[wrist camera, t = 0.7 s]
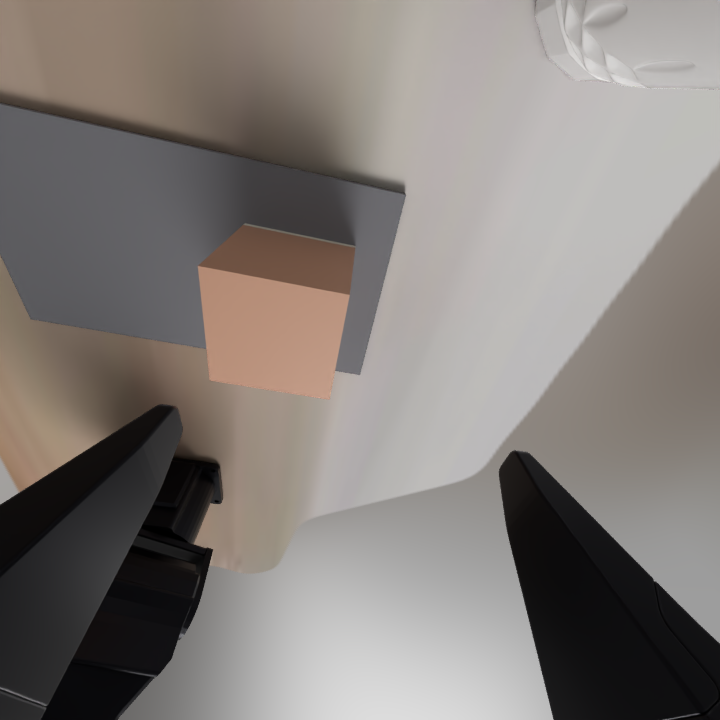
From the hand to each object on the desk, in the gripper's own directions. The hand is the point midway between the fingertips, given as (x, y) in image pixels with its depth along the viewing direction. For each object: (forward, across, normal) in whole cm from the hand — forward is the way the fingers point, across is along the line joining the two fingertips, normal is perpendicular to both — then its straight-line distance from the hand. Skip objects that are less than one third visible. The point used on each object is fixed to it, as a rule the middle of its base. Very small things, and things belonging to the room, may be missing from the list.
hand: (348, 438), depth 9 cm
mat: (+13, +10, +2) cm, 16 cm away
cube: (+12, +4, +2) cm, 13 cm away
